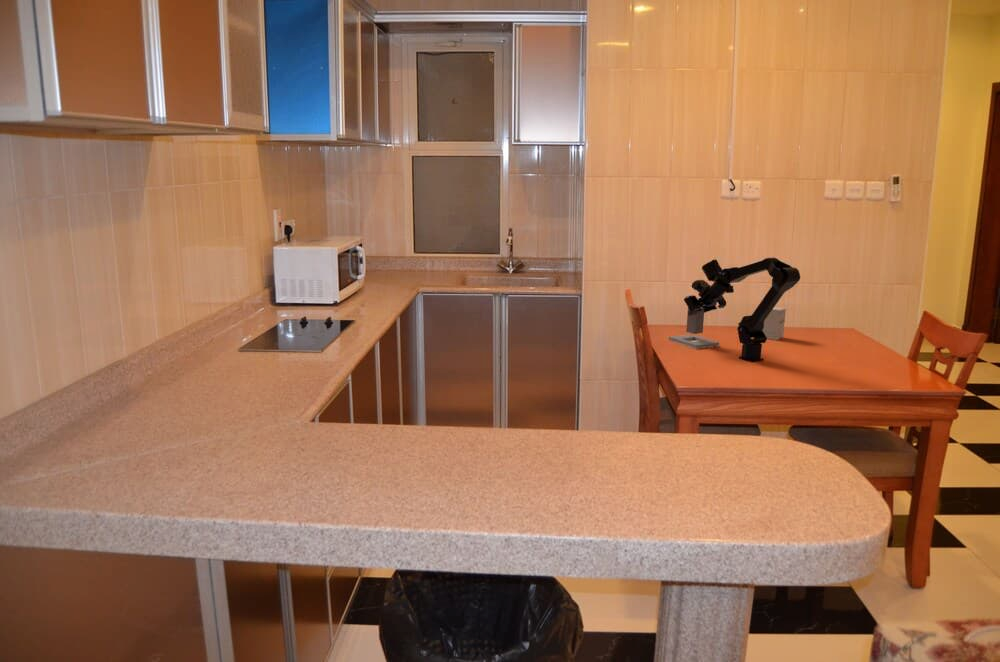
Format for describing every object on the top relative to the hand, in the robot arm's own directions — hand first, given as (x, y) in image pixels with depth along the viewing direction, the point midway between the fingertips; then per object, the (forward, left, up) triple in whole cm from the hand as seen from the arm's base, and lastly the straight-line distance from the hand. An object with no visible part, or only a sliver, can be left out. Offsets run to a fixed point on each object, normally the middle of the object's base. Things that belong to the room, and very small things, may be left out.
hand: (693, 314), depth 311 cm
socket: (-1, 0, -12) cm, 12 cm away
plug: (-1, 0, -7) cm, 7 cm away
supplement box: (-6, -38, -12) cm, 40 cm away
